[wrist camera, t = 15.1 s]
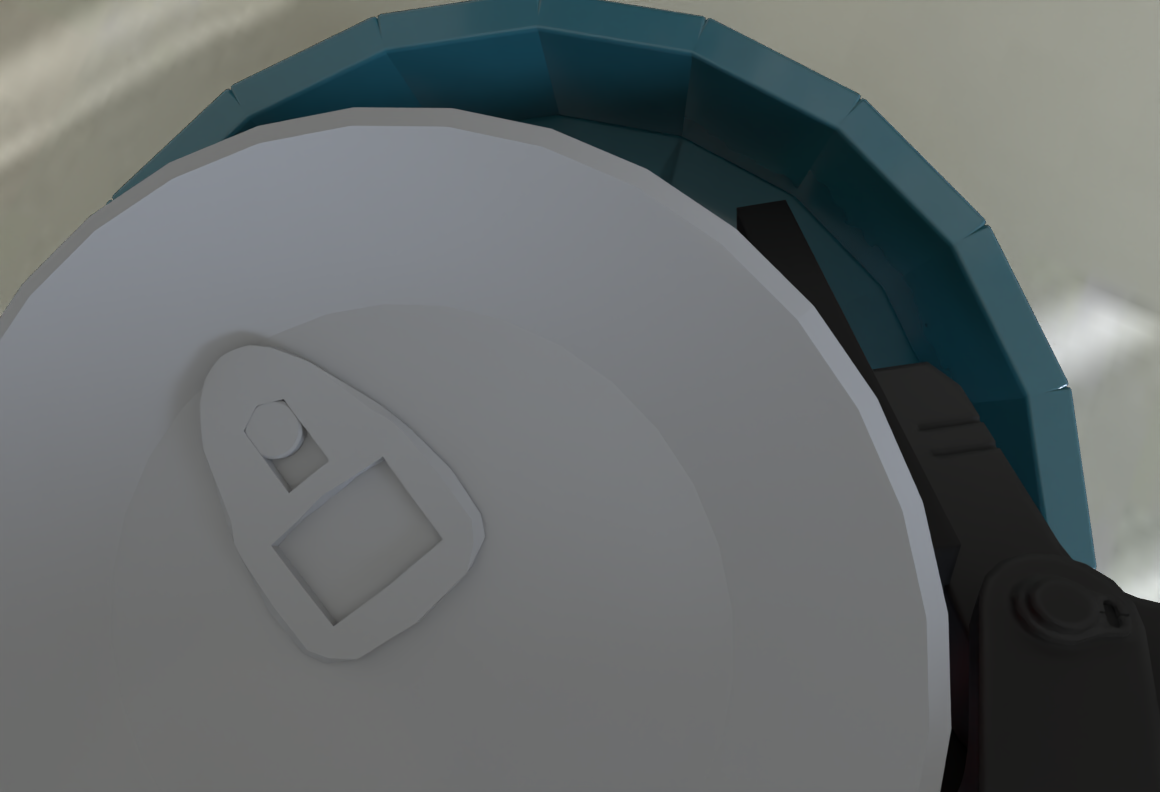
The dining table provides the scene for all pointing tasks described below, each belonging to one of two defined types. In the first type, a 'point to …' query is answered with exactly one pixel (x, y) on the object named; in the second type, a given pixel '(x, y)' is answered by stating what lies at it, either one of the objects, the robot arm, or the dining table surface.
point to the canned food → (447, 488)
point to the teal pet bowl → (724, 179)
